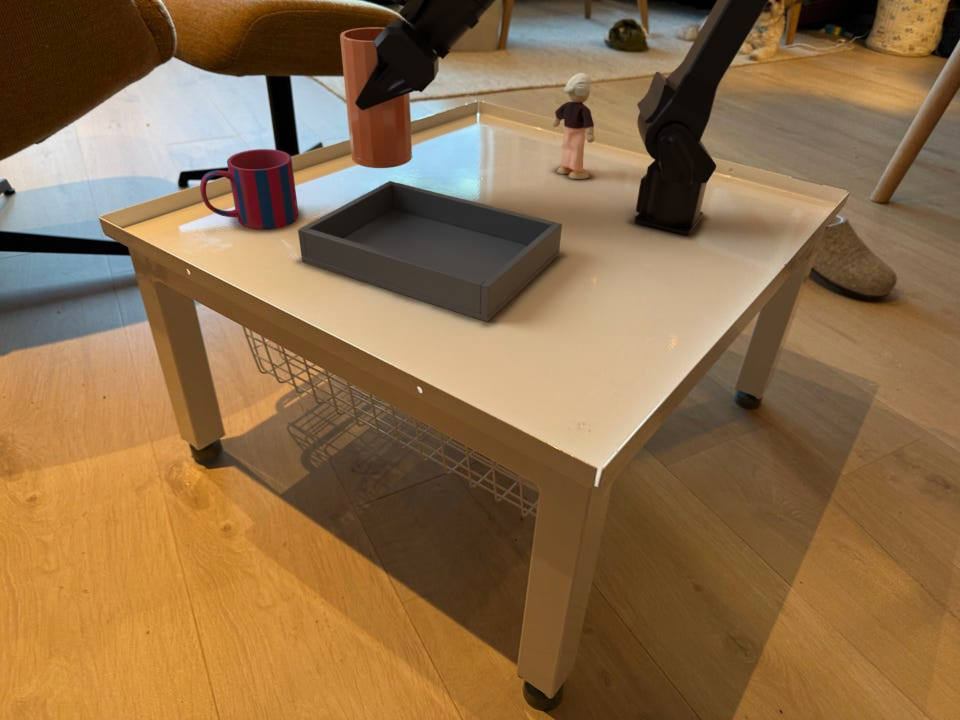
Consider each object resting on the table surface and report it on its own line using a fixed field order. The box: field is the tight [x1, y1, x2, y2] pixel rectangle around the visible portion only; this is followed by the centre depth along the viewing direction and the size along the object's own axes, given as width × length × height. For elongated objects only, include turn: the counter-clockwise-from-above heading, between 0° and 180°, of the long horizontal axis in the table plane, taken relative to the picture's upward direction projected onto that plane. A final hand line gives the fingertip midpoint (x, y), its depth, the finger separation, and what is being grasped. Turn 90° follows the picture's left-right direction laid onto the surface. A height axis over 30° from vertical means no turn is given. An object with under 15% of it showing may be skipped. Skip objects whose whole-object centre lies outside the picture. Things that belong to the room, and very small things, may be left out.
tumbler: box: [339, 26, 413, 169], centre depth 76 cm, size 7×7×13 cm
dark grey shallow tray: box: [297, 180, 563, 323], centre depth 71 cm, size 22×16×4 cm
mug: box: [199, 148, 300, 231], centre depth 76 cm, size 7×10×7 cm
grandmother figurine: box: [551, 72, 596, 180], centre depth 90 cm, size 8×4×13 cm, turn 46°
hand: (365, 97), depth 76 cm, fingers closed on tumbler, 7 cm apart
